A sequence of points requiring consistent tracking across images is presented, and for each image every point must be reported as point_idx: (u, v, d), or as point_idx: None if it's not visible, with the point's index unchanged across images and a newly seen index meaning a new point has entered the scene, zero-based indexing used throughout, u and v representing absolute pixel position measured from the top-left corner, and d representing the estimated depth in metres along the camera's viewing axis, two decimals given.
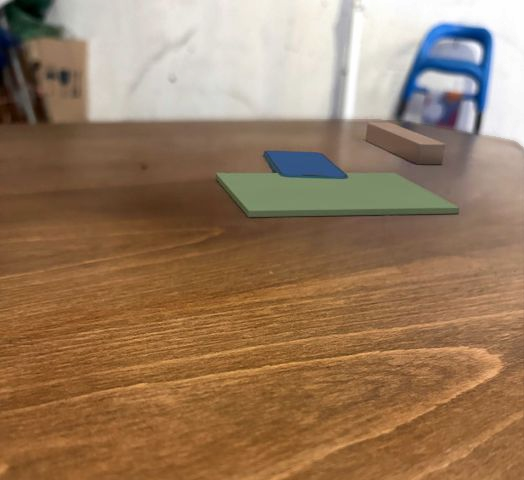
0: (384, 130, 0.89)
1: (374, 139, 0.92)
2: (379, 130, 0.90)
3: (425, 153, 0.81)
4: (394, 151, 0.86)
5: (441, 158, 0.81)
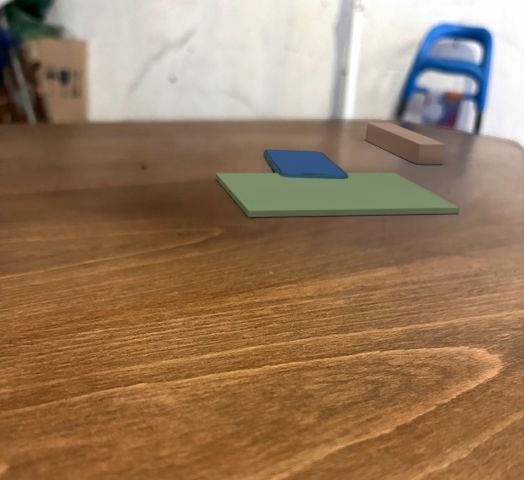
0: (384, 130, 0.89)
1: (374, 139, 0.92)
2: (379, 130, 0.90)
3: (425, 153, 0.81)
4: (394, 151, 0.86)
5: (441, 158, 0.81)
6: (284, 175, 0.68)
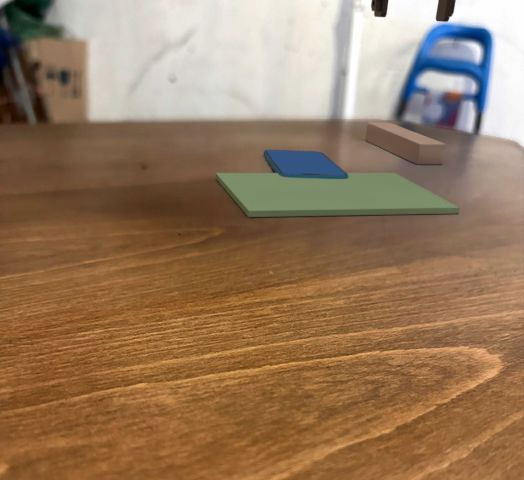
0: (384, 130, 0.89)
1: (374, 139, 0.92)
2: (379, 130, 0.90)
3: (425, 153, 0.81)
4: (394, 151, 0.86)
5: (441, 158, 0.81)
6: (284, 175, 0.68)
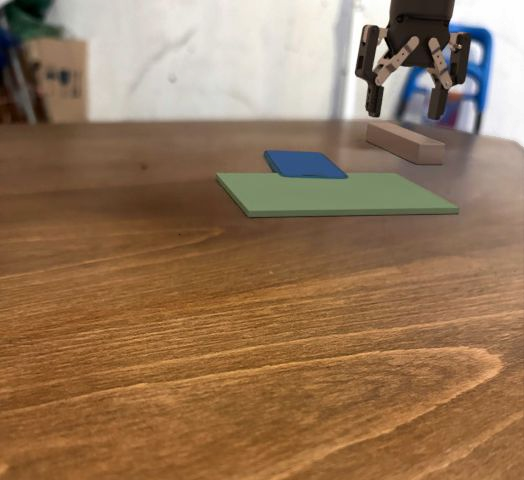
0: (384, 130, 0.89)
1: (374, 139, 0.92)
2: (379, 130, 0.90)
3: (425, 153, 0.81)
4: (394, 151, 0.86)
5: (441, 158, 0.81)
6: (284, 176, 0.68)
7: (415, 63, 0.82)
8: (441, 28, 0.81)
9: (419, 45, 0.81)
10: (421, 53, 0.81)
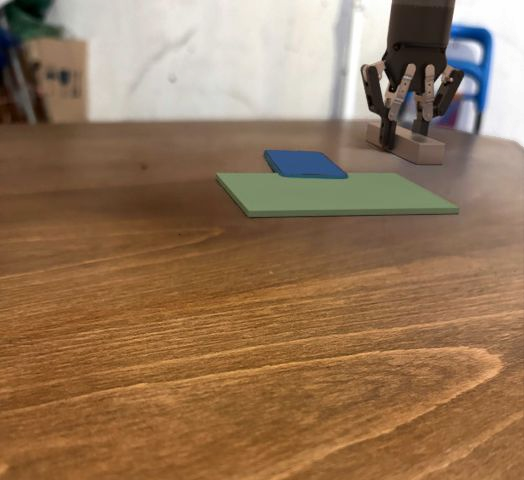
0: None
1: (374, 139, 0.92)
2: (379, 130, 0.90)
3: (425, 153, 0.81)
4: (394, 151, 0.86)
5: (441, 158, 0.81)
6: (284, 175, 0.68)
7: (412, 89, 0.84)
8: (438, 54, 0.83)
9: (416, 71, 0.83)
10: (419, 79, 0.83)
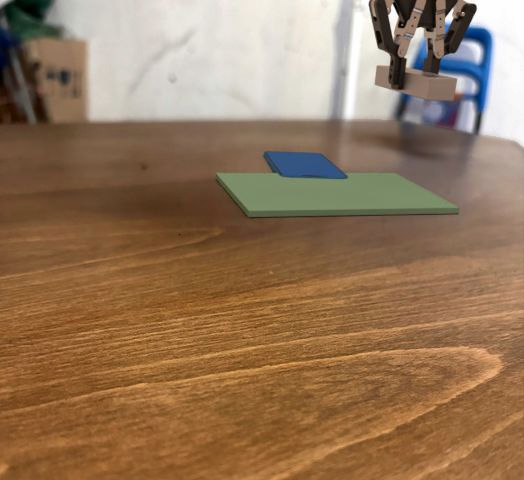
0: None
1: (383, 82, 0.89)
2: (388, 71, 0.87)
3: (435, 87, 0.78)
4: (404, 90, 0.83)
5: (453, 94, 0.78)
6: None
7: (423, 24, 0.81)
8: None
9: (427, 5, 0.80)
10: (429, 13, 0.80)
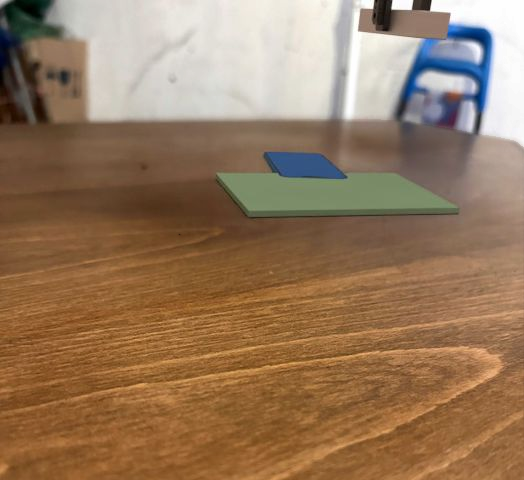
0: None
1: (367, 26, 0.78)
2: None
3: (425, 23, 0.67)
4: (390, 31, 0.73)
5: (445, 31, 0.68)
6: None
7: None
8: None
9: None
10: None
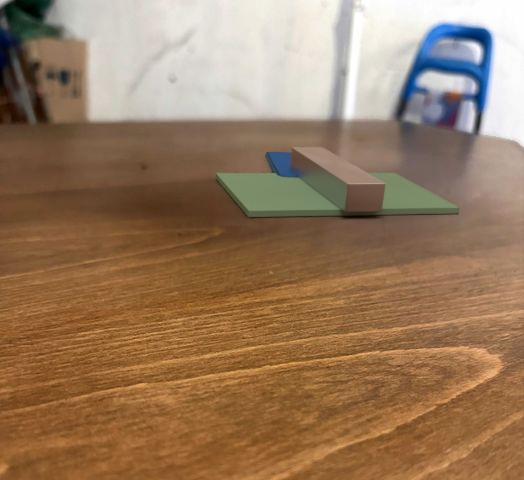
0: (309, 160, 0.65)
1: (298, 170, 0.68)
2: (304, 159, 0.66)
3: (356, 196, 0.57)
4: (320, 190, 0.63)
5: (380, 203, 0.58)
6: None
7: None
8: None
9: None
10: None
